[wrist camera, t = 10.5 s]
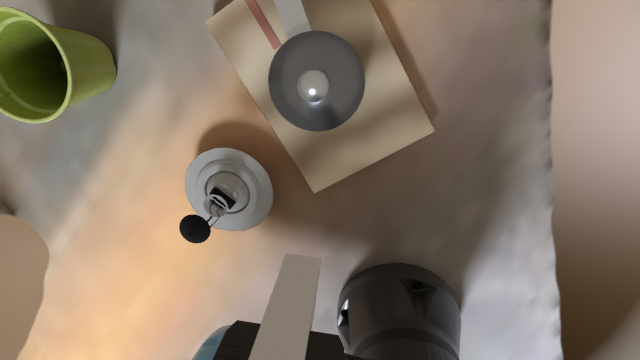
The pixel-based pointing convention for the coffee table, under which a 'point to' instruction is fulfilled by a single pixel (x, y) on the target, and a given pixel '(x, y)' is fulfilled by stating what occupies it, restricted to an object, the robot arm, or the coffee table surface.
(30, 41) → the plant pot
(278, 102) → the saucepan with lid
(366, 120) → the wooden cutting board
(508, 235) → the coffee table surface
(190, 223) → the grey joystick
